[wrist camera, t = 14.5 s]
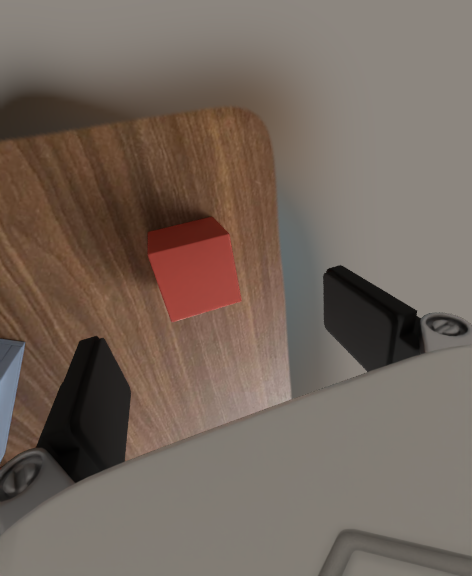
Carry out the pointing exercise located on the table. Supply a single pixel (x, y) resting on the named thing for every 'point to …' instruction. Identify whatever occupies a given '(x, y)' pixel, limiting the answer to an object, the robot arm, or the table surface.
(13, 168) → the table surface
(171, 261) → the red block
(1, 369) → the blue bin
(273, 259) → the table surface
